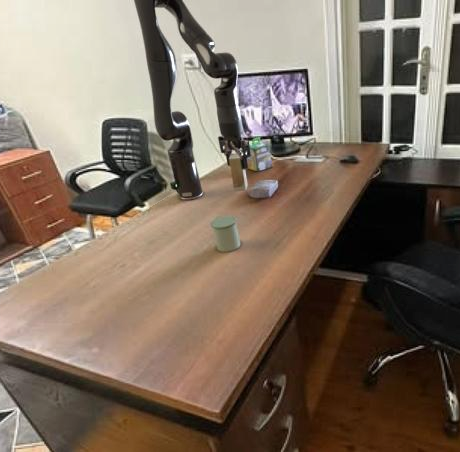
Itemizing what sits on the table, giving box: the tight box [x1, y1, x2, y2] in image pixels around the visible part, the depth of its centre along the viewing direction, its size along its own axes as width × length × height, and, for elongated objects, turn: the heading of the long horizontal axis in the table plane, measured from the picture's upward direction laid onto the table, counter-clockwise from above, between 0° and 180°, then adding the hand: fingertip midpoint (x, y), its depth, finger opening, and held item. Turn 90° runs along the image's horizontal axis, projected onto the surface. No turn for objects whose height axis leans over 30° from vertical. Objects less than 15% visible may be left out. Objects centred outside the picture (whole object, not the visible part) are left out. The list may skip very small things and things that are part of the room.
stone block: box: [248, 179, 279, 199], centre depth 142 cm, size 12×5×10 cm
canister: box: [210, 215, 241, 253], centre depth 104 cm, size 7×7×8 cm
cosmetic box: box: [229, 152, 248, 192], centre depth 125 cm, size 6×4×12 cm
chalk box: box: [246, 136, 273, 173], centre depth 167 cm, size 9×9×15 cm
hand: (237, 167), depth 124 cm, fingers closed on cosmetic box, 7 cm apart
